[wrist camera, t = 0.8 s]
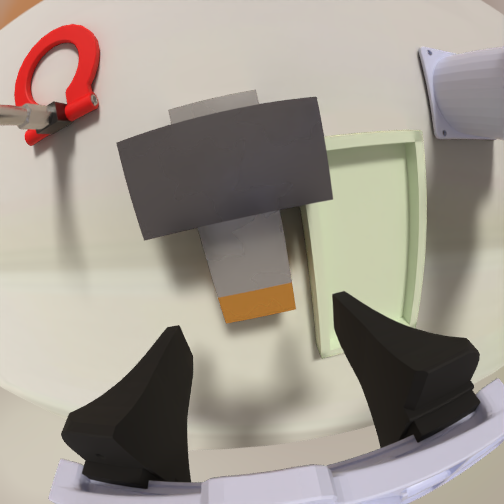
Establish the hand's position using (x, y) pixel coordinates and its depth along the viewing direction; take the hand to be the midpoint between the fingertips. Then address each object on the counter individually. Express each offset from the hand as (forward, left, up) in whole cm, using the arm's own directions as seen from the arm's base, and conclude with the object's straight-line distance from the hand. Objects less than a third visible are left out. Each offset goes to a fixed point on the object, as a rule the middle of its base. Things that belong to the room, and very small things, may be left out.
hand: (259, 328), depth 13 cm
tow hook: (+11, -18, -9) cm, 23 cm away
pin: (0, -4, -9) cm, 10 cm away
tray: (-9, +1, -9) cm, 13 cm away
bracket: (0, -7, -9) cm, 11 cm away
